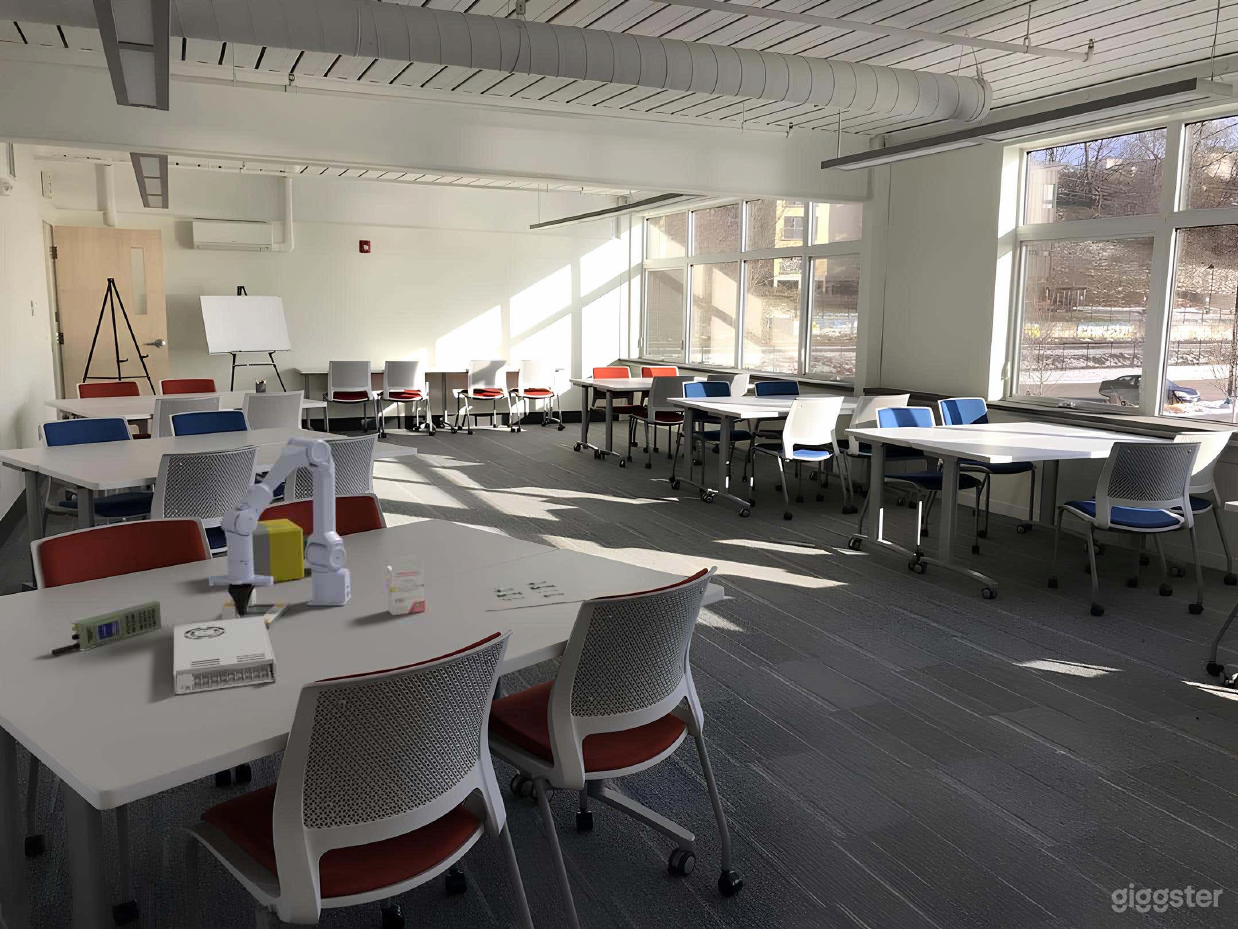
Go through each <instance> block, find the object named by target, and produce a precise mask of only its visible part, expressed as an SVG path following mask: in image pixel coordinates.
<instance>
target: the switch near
mask: <svg viewBox="0 0 1238 929" xmlns="http://www.w3.org/2000/svg"><path fill="white" fill-rule="evenodd" d="M221 613H222V619H223V620H229V619H238V618H239V617H240V616H239V614H238V610H237V607H236V605H235V602H231V601H227V602H225V603H224V604H223V605H222V606H221Z"/></svg>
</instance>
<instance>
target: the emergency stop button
mask: <svg viewBox="0 0 1238 929" xmlns="http://www.w3.org/2000/svg"><path fill="white" fill-rule="evenodd" d="M303 532H304V530H303V528H302V527H301V526H299V525H297V524H296V523H294V522H292V521H291V520H289V519H288V518H281V519H270V520H260V521H259V520H258V524H257V528H256V530H254V531H253V532H252V541H253V566H254V575H262V576H273V582H274V583H280V582H279V581H282V582H289V581H293V580H292V579H297V580H302V579H303V578H305V568H304V567H305V566H304V561H305V560H306V559H305V550H306V547H307V543H308V537H309V536H310V535H311V534H312V533H310V534H309V535H307V534H306V535H304V534H303ZM288 580H289V581H288Z"/></svg>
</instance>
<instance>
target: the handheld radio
mask: <svg viewBox="0 0 1238 929" xmlns="http://www.w3.org/2000/svg"><path fill="white" fill-rule="evenodd" d="M161 615H162V614H161V601H159V600H153V601H149V602H146V603H141V604H138V605H134V606H130V607H127V608H126V607H125V608H122V609H119V610H114V611H111V612H107V613H103V614H99V615H96V616H92V617H88V618H84V619H80V620H77V621H74V622H70V624H71V625H74V626H72V627H71V631H73V632H74V633H75V634H72V635H71V639H72V640H73V641H75V643H73V644H70V645H66V646H63V647H62V646H61V647H58V648H55V649H52V650H51V655H52V656H58V655H61V654H65V653H68V652H72V651H73V650H77V649H87V648H91V647H93V646H98V645H101V646H104V645H103V644H105V645H107V644H106V643H108V642H112V643H114V642H113V641H115V642H118V641H121V640H120V639H122V640H124V639H123V638H125V639H128V638H127V637H129V638H132V637H135V635H136V636H138V635H137V634H139V635H143V634H145V633H149V631H150V632H153V631H156V630H160V629H162V626H163V625H162V616H161ZM159 628H160V629H159ZM152 630H153V631H152ZM142 633H143V634H142ZM131 636H132V637H131ZM117 640H118V641H117ZM108 644H109V643H108ZM98 647H99V646H98ZM91 649H92V648H91ZM87 650H88V649H87Z"/></svg>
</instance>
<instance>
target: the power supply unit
mask: <svg viewBox="0 0 1238 929" xmlns="http://www.w3.org/2000/svg"><path fill="white" fill-rule="evenodd" d="M267 629H268V628H266V626H265V622H264V619H263V616H258V617H248V618H239V619H229V620H220V621H213V620H211V621H201V622H193V623H183V624H174V625H173V685H174V686H173V687H174V694H175V693H177V675H183V674H191V673H192V690H195V689H203V688H212V687H219V686H225V685H232V684H240V683H250V682H254V681H264V680H271V674H272V673H273V675H272V677H273V676H274V678H273V680H274V679H275V680H276V681H277V662H276V657H275V654H274V650H273V648H272V644H271V641H270V640H271V639H270V637H269V633H268V630H267ZM263 653H264V654H263ZM255 654H263V655H255ZM247 655H254V656H247ZM239 656H245V657H239ZM260 656H261V657H260ZM248 657H250V658H248ZM243 658H245V659H243ZM263 658H265V659H263ZM243 660H246V661H243ZM191 662H192V663H191ZM193 666H196V667H193ZM191 667H192V668H191ZM271 669H272V671H271V672H270V670H271ZM181 689H183V686H182V687H181ZM188 689H189V690H190V686H186V687H185V690H188Z"/></svg>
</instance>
